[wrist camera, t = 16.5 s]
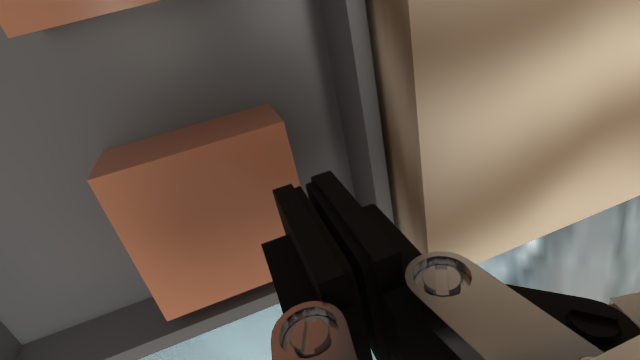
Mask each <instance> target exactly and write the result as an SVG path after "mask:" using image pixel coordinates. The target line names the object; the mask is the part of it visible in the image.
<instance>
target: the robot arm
mask: <svg viewBox="0 0 640 360" xmlns="http://www.w3.org/2000/svg"><path fill="white" fill-rule="evenodd" d="M306 190H307V194H308V197H307V195H306V194H305V192H304V191H303V189H302V187H301V186H298V187H295V188H294V187H293V185H292V184H288V185H285V186H282V187H279V188H276V189H273V190H272V191H273V195H274V199H275V202H276V205H277V208H278V212H279V215H280V218H281V221H282V225H283V228H284V231H285V234H286V235H285V236H282V237H279V238H276V239H274V240H271V241H268V242H265V243H263V244H261V246H262V249H263V252H264V255H265V258H266V261H267V264H268V268H269V271H270V274H271V277H272V280H273V283H274V286H275V289H276V293H277V296H278V299H279V302H280V305H281V308H282V311H283V315H282V316H281V317H280V318H279V320H278V321H277V322H276V324H275V326H274V328H273V331H272V337H271V350H272V360H373V359H372V354H371V350H372V352H373V354H374V355H375V357H376V359H377V360H640V292H639V293H634V294H629V295H624V296H619V297H615V298H610V301H609V304H608V305H607V304H605V303H603V302H599V301H595V300H592V299H587V298H582V297H576V296H570V295H564V294H559V293H553V292H547V291H542V290H536V289H530V288H524V287H519V286H513V285H507V284H504V283H502V282H501V281H499V280H498V279H497V278H495V277H494V276H492V275H491V274H489V273H488V272H486V271H485V270H483V269H482V268H481V267H479V266H478V265H476V264H475V263H473V262H472V261H470V260H469V259H467V258H465V257H463V256H461V255H459V254H456V253H452V252H445V251H435V252H428V253H425V254H423V255H422V253H421V252H420V251H419V250H418V249H417V248H416V247H415V246H414V245H413V244H412V243H411V242H410V241H409V240H408V239H407V238H406V236H405V235H404V234H403V233H402V232H401V231H400V230H399V229H398V228H397V227H396V226H395V225H394V224H393V223H392V222H391V221H390V219H389V218H388V217H387V216H386V215H385V214H384V213H383V212H382V211H381V210H380V209H379V208H378V207H377V206H376V205H375V204H369V205H367V206H364V207H362V206H361V205H360V204H359V203H358V202H357V200H356V199H355V198H354V197H353V196H352V195H351V194H350V192H349V191H348V190H347V189H346V188H345V187H344V185H343V184H342V183H341V182H340V181H339V180H338V179H337V177H336V176H335V175H334V174H333V173H332V172H331V171H326V172H324V173H321V174H318V175H315V176H312V177H311V182H310V183H307V184H306ZM370 348H371V349H370Z"/></svg>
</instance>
